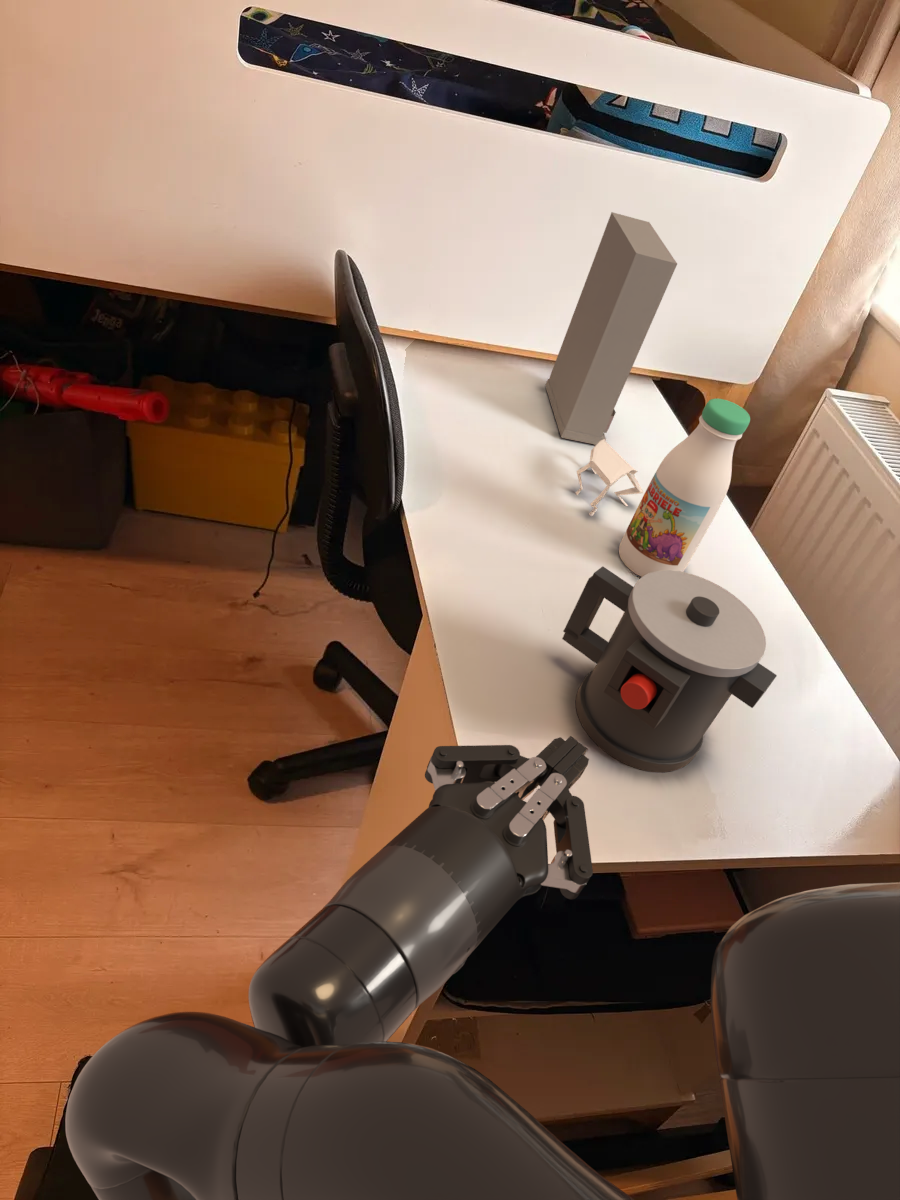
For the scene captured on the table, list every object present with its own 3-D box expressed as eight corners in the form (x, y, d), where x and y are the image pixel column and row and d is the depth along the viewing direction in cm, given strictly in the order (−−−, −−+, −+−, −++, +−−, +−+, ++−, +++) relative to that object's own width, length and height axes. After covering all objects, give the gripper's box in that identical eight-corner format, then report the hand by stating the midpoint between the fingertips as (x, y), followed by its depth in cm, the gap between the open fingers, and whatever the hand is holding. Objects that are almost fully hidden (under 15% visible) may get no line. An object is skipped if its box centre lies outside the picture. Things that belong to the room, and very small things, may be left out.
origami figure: (644, 524, 107) (661, 490, 104) (582, 518, 105) (597, 484, 101) (610, 466, 116) (624, 433, 113) (551, 460, 113) (564, 426, 110)
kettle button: (640, 715, 70) (653, 695, 69) (615, 697, 71) (627, 676, 70) (649, 705, 72) (662, 685, 70) (625, 687, 72) (636, 667, 71)
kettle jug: (672, 817, 74) (754, 703, 65) (510, 693, 80) (565, 573, 71) (732, 738, 83) (811, 629, 74) (583, 632, 89) (640, 519, 80)
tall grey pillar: (603, 448, 119) (684, 266, 103) (560, 439, 117) (635, 253, 102) (584, 396, 129) (655, 223, 113) (544, 387, 128) (610, 211, 112)
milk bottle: (644, 534, 106) (721, 384, 93) (694, 574, 102) (781, 424, 89) (603, 549, 101) (678, 393, 88) (653, 592, 97) (739, 436, 85)
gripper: (535, 956, 46) (678, 776, 58) (347, 791, 50) (517, 656, 62) (491, 1020, 50) (632, 842, 62) (323, 864, 55) (486, 726, 67)
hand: (574, 749), depth 62 cm, fingers closed
